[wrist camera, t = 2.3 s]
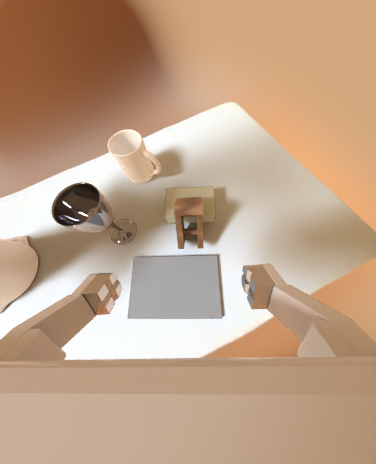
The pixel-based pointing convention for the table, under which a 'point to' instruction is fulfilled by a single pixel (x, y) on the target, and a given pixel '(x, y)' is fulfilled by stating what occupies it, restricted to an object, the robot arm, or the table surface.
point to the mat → (175, 288)
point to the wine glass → (90, 213)
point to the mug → (133, 156)
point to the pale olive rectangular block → (175, 193)
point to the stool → (188, 208)
